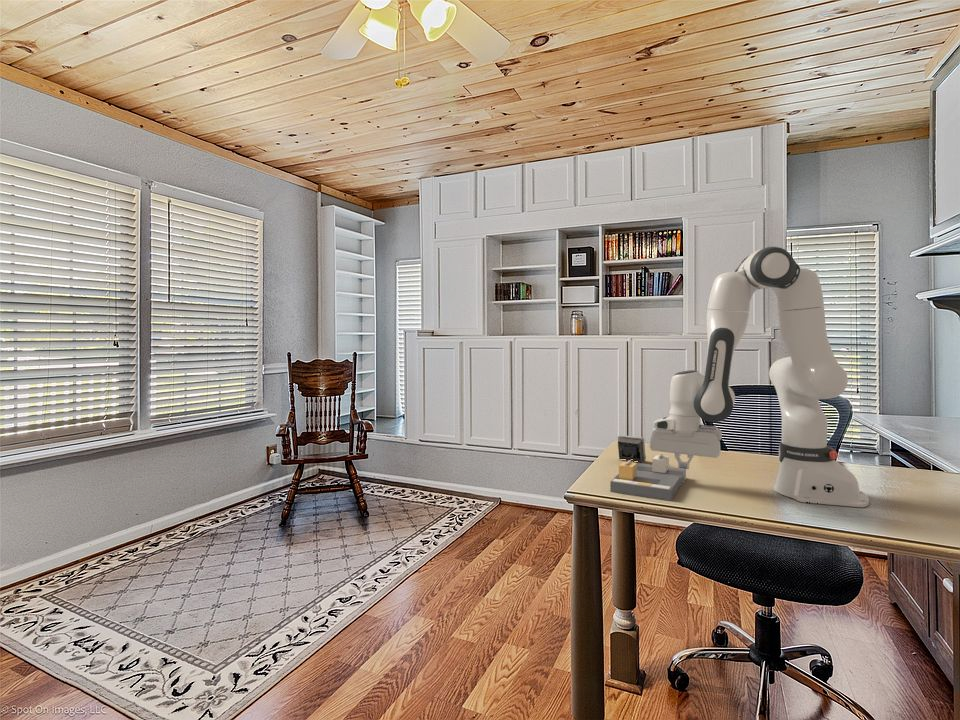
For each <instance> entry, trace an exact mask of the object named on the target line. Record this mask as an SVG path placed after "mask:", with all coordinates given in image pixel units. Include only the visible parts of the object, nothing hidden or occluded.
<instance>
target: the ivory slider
mask: <svg viewBox="0 0 960 720" xmlns="http://www.w3.org/2000/svg"><path fill="white" fill-rule="evenodd" d="M651 459H652V460H651V461H652V464H651V465H652V471H653V472H660V473H666V472H667V471H668V470H669V467H670V456H667V455H664V454H659V455H657V454H656V455H655V456H654V457H653V458H651Z"/></svg>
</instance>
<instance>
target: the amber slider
mask: <svg viewBox="0 0 960 720" xmlns="http://www.w3.org/2000/svg"><path fill="white" fill-rule="evenodd" d="M618 474H619V479H626V480H633V479H634V478H635V477H636V476H637V463H636V462H634V463H633V462H631V461H622V462H621V463H620V464H619V465H618Z"/></svg>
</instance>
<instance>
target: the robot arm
mask: <svg viewBox="0 0 960 720" xmlns="http://www.w3.org/2000/svg"><path fill="white" fill-rule="evenodd" d="M710 289H711V290H710V293H709V297H708V298H709V299H708V302H707V309H706V338H707V358H706V365H705V371H704V374H702V373H701V372H700V371H698V370H694V369H693V370H692V369H691V370H689V369H688V370H682V371H679V372H677V373H675V374H673V375H672V377H671V380H670V387H669V402H670V409H669V411H668V413H669V415H668V416H665V417H661V418H658V419H656V420H654V421H653V429H652V431H650V436H649V446H648V447H649V449H650V450H651V451H653V452H662V453H669V454H674V458H675V459H676V461H677V463H678V465H677V468H683V469H686V470H689V469H690V463H691V461H692V460H693V458H694V456H696V457H697V456H698V457H704V458H706V457H707V458H714V459H715V458H716V459H717V458H718V457H720V455H721V442H720V441H721V440H722V437H723V435H722V434H723V433H722V430H721V429H720V428H719V427H717V426H716V425H707V424H706V425H705V424H701V419H702V420H704V421H706V422H708V423H721V422H723V421H725V420H727V419H728V418H729V417H730V416H731V414H732V412H733V409H734V405H735V403H736V395H735V391H734V390H733V388H731V386H729V383H730V375H731V368H732V361H733V355H734V354H735V351H736V348H737V346H738V345H739V342H740V341H741V339H742V338H743V336H744V334H745V331H746V329H747V324H748V320H749V314H750V309H751V308H750V306H751V301H752V297H753V295H754V294H755V292H756V291H757V290H761V289H762V290H763V289H764V290H766V289H771V290H772V291H773V292H774V294H775V296H776V299H777V313H778V325H779V326H778V327H779V338H780V339H781V341H782V342H783V344H784V345H785V346H786V349H787V351H788V354H789V356H786V357H782V358H778V359H777V360H776V361H774V362H773V363H772V364H771V366H770V368H769V371H768V373H769V374H768V375H769V380H770V382H771V383H772V385H773V386H774V389H775V392H776V395H777V399H778V404H779V407H780V415H781V440H780V442H779V446H778V459H779V469H778V472H777V473H778V474H777V477H776V481H775V484H774V486H773V490H774V491H775V492H776V493H778V494H780V495H783V496H785V497H788V498H792V499H794V500H795V501H797V502H801V503H806V502H808V504H809V502H810V504H817V503H818V505H830V506H843V507H854V508H865V507H868V506H869V504H870V499H869V496H868V495H867V494H866V493H864V492H863V491H861V490H860V486H859V482H858V480H857V478H856V476H855V475H854V474H853V473H852V472H851V471H850V470H848V468H845V466H843V465H842V464H840V463H839V462H838V461H836V460H837V459H838V457H839V453H838V451H836V450H835V449H834V448H833V447H832V446H831V447H830V446H828V445H827V444H828V418H827V416H826V413H824V411H823V409H822V407H821V405H820V400H828V399H829V400H830V399H834V398H837V397H838V396H839V397H840V395H842V394H843V393H844V392H845V391H846V389H847V386H848V380H849V379H848V378H849V377H848V375H847V372H846V370H845V369H844V368H843V367H842V366H841V365H840V363H839V362H838V361H837V359H836V357H835V354H834V352H833V350H832V349H833V348H832V347H831V344H830V341H829V338H828V334H827V326H826V324H827V323H826V316H825V315H826V314H825V303H824V302H825V301H824V295H823V289H822V285H821V282H820V278H819V276H818V274H817V273H816V272H815V271H813V270H811V269H808V268H801V267H800V265H799V264H798V263H797V262H796V261H795V259H794V258H793V256H792V254H790V252H789V251H787V250H786V249H784V248H783V247H779V246H768V247H763V248H760V249H757V250H755V251H753V252H752V253H751V254H749V255H748V256H746V257H745V258H744V259H742V261H741V262H740V263H739V265H738V267H736V269H735V270H734V271H727V272H724V273H721V274H719V275H717V276H716V277H715V278H714V281H713V284H712V286H711V288H710ZM681 455H687V459H688V460H687V461H682V460H681V458H680V457H681Z"/></svg>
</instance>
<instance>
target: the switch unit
mask: <svg viewBox="0 0 960 720" xmlns="http://www.w3.org/2000/svg"><path fill="white" fill-rule="evenodd" d="M633 463H635V462H633ZM685 478H687V469H684V468H678V467H674V466H669V470H668V471H667V472H666V473H660V472H653V471H652V464H649V463H642V462H641V463H637V476H636V477H635V478H634V479H633V480H626V479H619V473H618V474H617V475H615V476H614V477H613V479H611V480H610V482H609V483H610V484H609V485H610V488H609V489H610V490H609V491H610V492H611V493H612V492H613V493H618V494H623V495H624V494H625V495H629V496H630V495H631V496H636V497H637V496H638V497H644V498H651V499H658V500H664V501H670V502H671V501H672V500H673V498H674V496H675V495H676V493H678V491H679V489H680V487H682V485H683V483H684V482H685V480H686V479H685ZM683 481H684V482H683ZM681 484H682V485H681Z"/></svg>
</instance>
